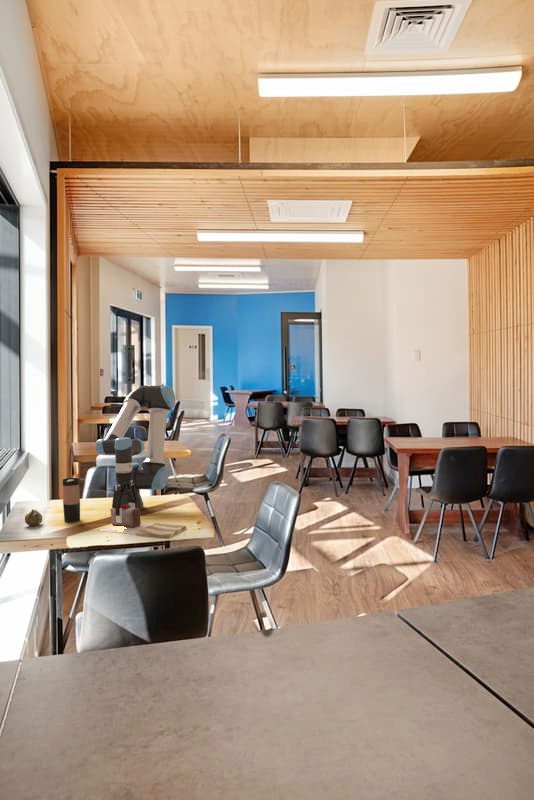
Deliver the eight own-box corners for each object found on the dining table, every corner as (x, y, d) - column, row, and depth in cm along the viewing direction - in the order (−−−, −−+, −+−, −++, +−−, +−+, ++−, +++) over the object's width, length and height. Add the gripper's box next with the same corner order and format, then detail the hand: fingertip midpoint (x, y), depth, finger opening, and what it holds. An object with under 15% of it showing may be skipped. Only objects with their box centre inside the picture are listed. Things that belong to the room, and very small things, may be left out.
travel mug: (76, 517, 289) (74, 477, 288) (83, 520, 284) (82, 479, 282) (61, 520, 284) (59, 479, 283) (68, 523, 278) (66, 481, 277)
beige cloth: (155, 525, 272) (154, 523, 272) (186, 528, 267) (185, 525, 267) (135, 535, 258) (135, 532, 257) (168, 538, 252) (168, 535, 252)
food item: (108, 526, 272) (107, 504, 272) (119, 521, 280) (118, 501, 279) (132, 529, 267) (132, 507, 266) (143, 524, 274) (142, 503, 274)
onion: (46, 523, 279) (46, 507, 278) (33, 528, 272) (33, 511, 271) (34, 522, 282) (34, 505, 281) (21, 526, 275) (20, 509, 274)
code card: (119, 521, 280) (119, 521, 280) (152, 524, 274) (152, 524, 274) (98, 530, 265) (98, 530, 265) (133, 534, 259) (133, 533, 259)
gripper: (116, 476, 260) (118, 526, 261) (144, 467, 281) (145, 514, 282) (102, 475, 263) (104, 525, 264) (130, 467, 284) (132, 513, 285)
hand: (125, 519), depth 273 cm, fingers open, 10 cm apart
